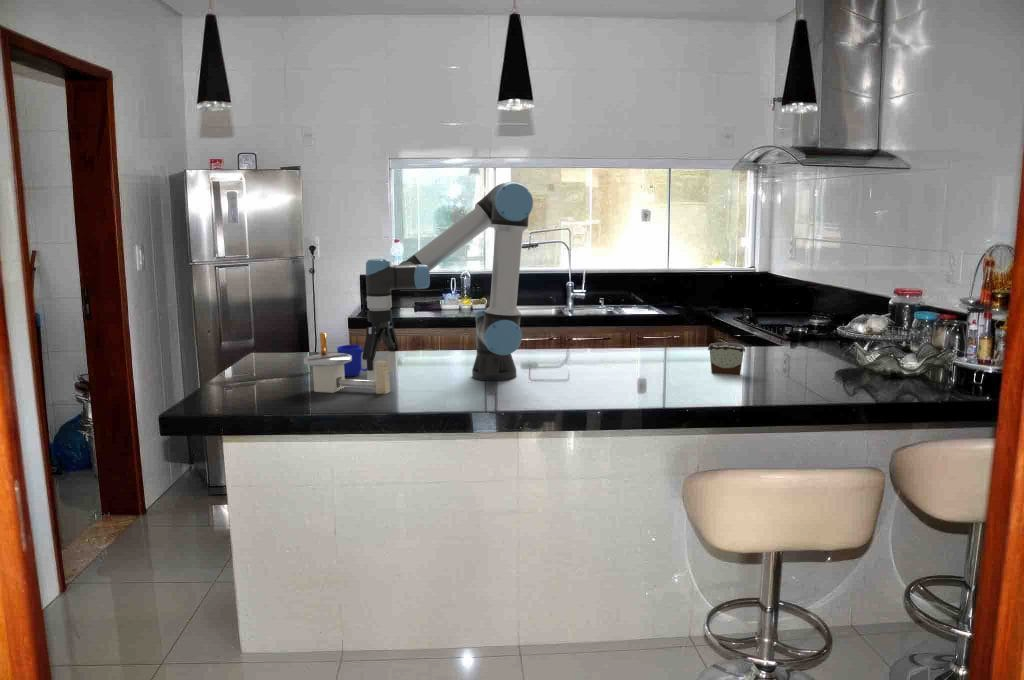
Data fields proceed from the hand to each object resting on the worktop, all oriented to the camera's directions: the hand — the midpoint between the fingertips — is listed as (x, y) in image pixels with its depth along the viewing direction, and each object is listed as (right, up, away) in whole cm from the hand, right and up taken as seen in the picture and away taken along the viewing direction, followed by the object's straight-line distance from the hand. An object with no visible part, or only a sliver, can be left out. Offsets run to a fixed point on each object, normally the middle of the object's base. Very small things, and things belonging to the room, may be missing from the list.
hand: (382, 376), depth 246 cm
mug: (-14, -1, +27) cm, 30 cm away
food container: (+114, 0, +19) cm, 116 cm away
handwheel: (-18, +5, +5) cm, 19 cm away
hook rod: (-10, -5, +4) cm, 12 cm away
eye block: (-18, -5, +7) cm, 20 cm away
